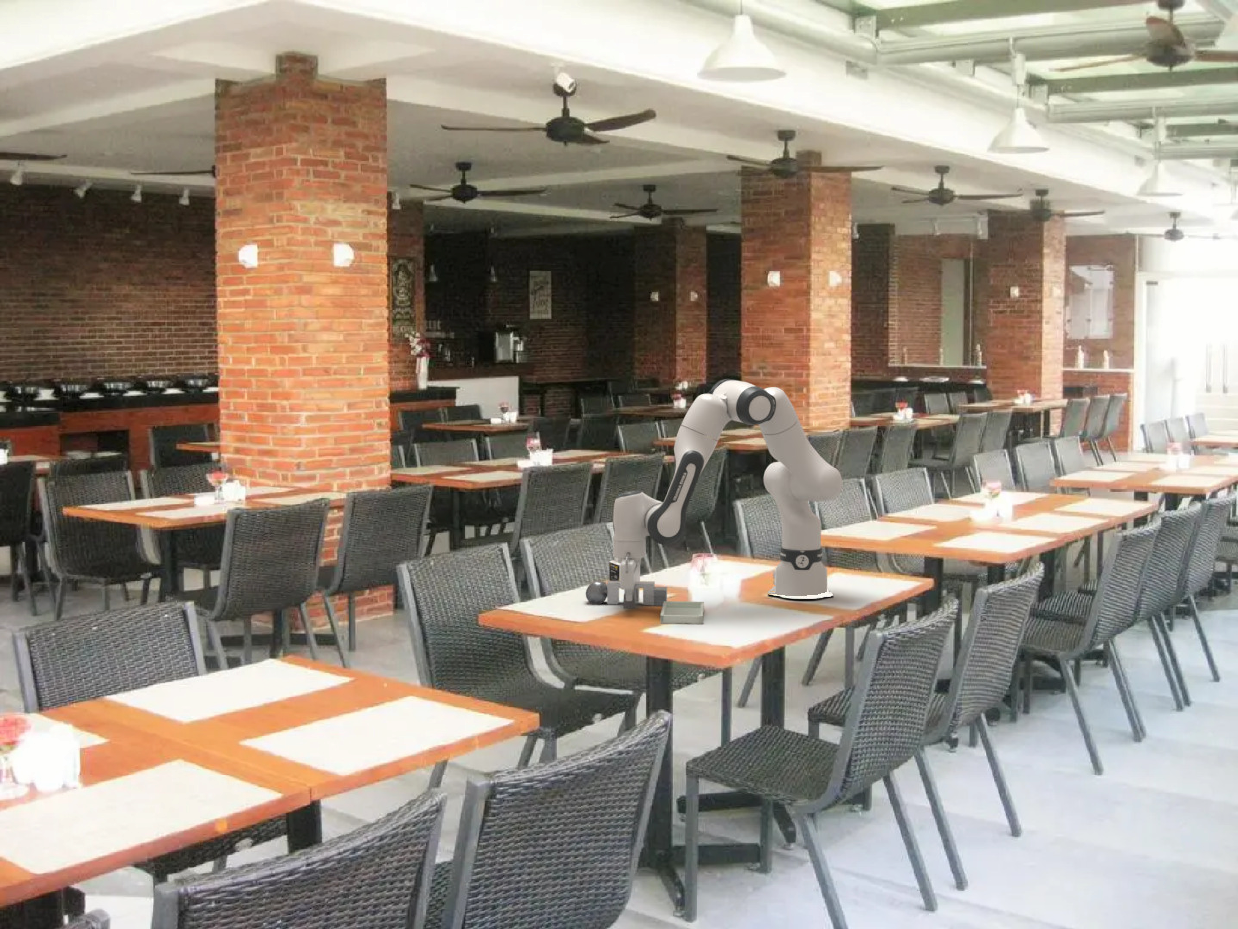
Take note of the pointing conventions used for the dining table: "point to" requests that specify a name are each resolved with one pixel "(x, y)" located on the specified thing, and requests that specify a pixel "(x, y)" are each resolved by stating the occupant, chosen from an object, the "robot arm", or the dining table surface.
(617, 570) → the medicine bottle
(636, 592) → the dark grey rectangular bar
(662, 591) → the housing
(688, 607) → the tray
